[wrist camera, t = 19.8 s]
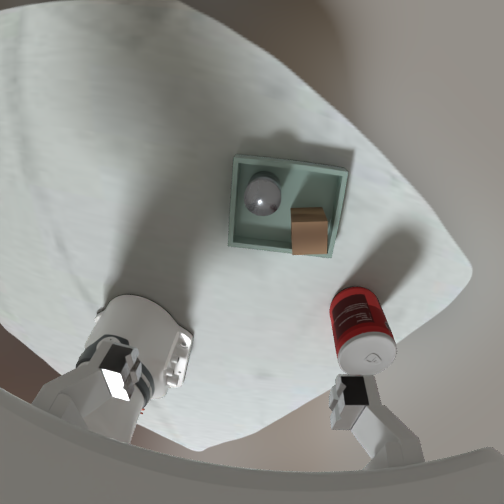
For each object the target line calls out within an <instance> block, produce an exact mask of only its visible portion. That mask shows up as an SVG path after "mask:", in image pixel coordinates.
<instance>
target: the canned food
mask: <svg viewBox="0 0 504 504" xmlns="http://www.w3.org/2000/svg"><path fill="white" fill-rule="evenodd" d="M330 319H331V324H332V330H333V336H334V342H335V348H336V354H337V359H338V363H339V366H340V368H341V369H342V370H343V371H344V372H345V373H346V374H349V375H375V374H378V373H380V372H382V371H383V370H385V369H386V368H388V367H389V366H390V365H391V364H392V362H393V361H394V359H395V357H396V354H397V348H396V343H395V340H394V337H393V335H392V332H391V330H390V327H389V325H388V322H387V320H386V317H385V315H384V312H383V310H382V308H381V305H380V303H379V301H378V298H377V297H376V296H375V295H374V294H373V293H372V292H371V291H370V290H368V289H366V288H363V287H350V288H347V289H344V290H342V291H341V292H339V293H338V294H337V295H336V296H335V297H334V299H333V300H332V302H331V306H330Z"/></svg>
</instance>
